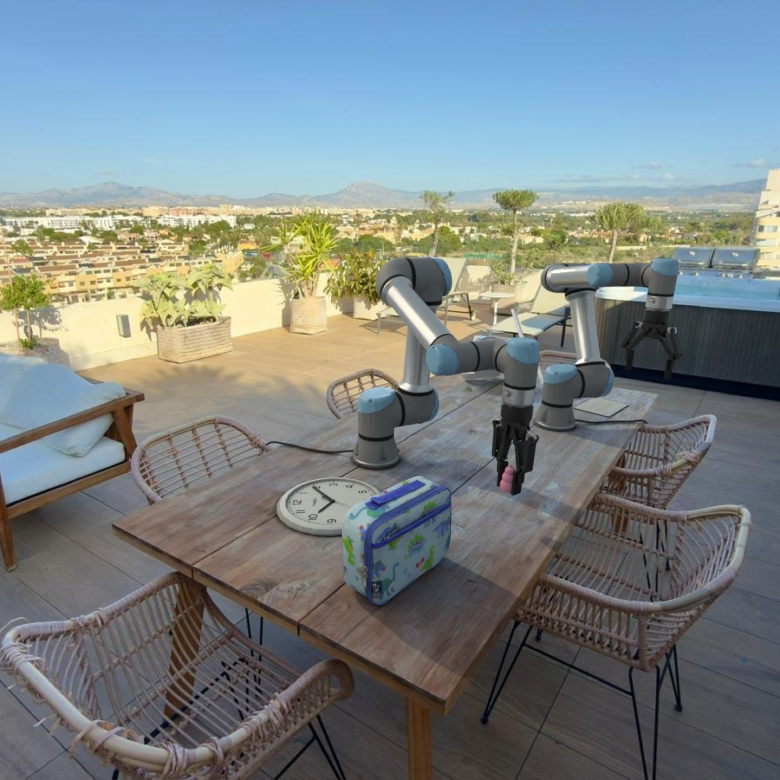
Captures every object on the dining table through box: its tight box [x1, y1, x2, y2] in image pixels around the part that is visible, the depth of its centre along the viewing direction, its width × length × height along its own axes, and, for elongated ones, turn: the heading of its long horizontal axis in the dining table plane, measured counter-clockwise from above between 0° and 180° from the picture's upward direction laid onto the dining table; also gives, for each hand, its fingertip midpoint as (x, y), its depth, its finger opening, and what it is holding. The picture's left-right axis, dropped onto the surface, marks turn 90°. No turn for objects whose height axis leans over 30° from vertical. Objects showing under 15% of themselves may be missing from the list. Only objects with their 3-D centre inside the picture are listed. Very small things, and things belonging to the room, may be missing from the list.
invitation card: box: [573, 397, 629, 418], centre depth 226 cm, size 21×1×15 cm
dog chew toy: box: [499, 465, 516, 495], centre depth 132 cm, size 4×4×7 cm
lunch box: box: [341, 475, 453, 606], centre depth 111 cm, size 26×11×21 cm, turn 134°
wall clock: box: [276, 476, 382, 537], centre depth 142 cm, size 30×2×30 cm
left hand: (508, 489), depth 132 cm, fingers closed on dog chew toy, 4 cm apart
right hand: (646, 374), depth 171 cm, fingers open, 13 cm apart
